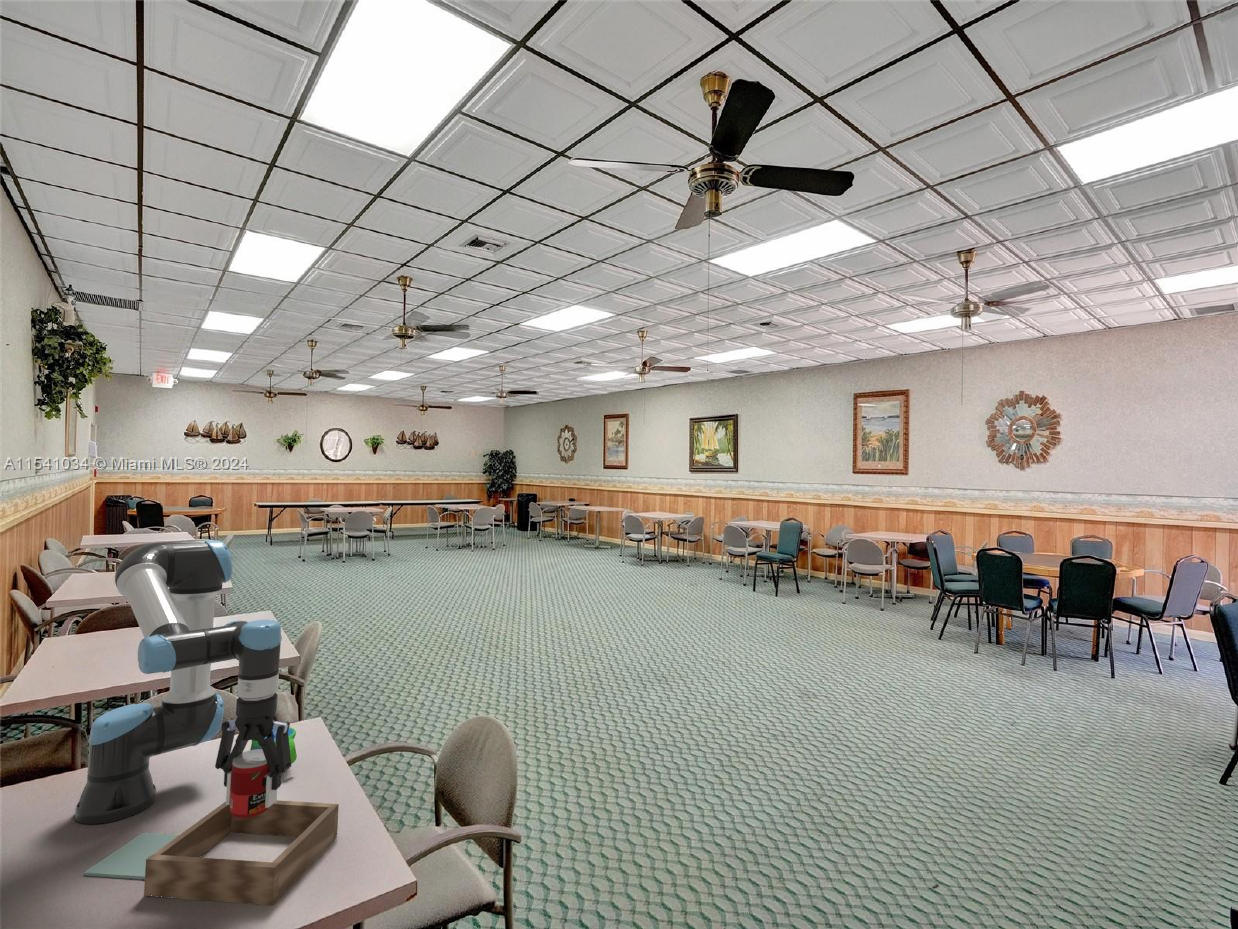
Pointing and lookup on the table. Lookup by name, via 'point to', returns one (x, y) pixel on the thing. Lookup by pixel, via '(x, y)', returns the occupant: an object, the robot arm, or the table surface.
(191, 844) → the frame
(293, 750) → the snack cup
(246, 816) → the canned food
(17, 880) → the table surface
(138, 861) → the mat
